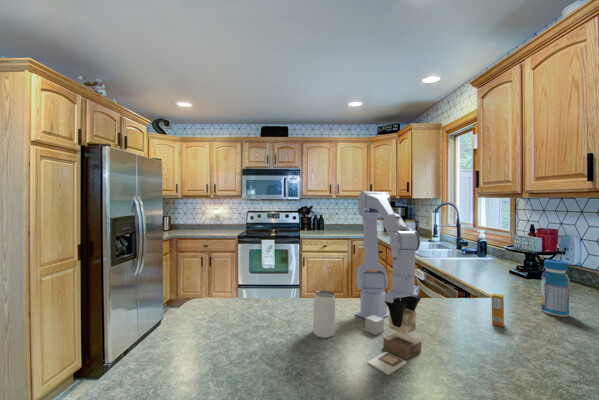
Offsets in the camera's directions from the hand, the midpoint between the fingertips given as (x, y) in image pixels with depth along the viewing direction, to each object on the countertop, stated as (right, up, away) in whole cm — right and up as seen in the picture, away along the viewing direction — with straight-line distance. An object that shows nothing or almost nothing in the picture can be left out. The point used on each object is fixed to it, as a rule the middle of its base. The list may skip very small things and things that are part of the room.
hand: (402, 323), depth 78 cm
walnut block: (0, -7, -1) cm, 7 cm away
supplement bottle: (+70, -10, +31) cm, 77 cm away
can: (-21, -6, +7) cm, 23 cm away
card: (-7, -6, -8) cm, 12 cm away
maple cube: (0, -2, 0) cm, 2 cm away
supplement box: (+39, -9, +18) cm, 44 cm away
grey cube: (-5, -7, +10) cm, 13 cm away
